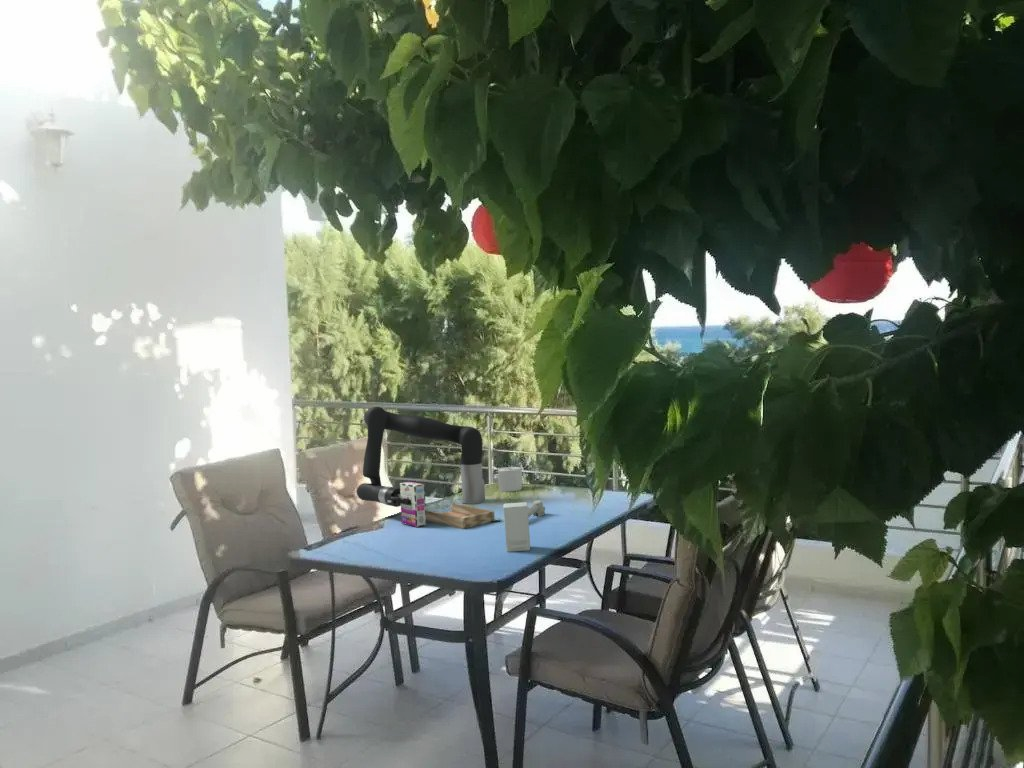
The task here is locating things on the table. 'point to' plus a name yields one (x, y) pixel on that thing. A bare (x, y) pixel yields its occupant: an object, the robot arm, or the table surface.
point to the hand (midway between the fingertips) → (416, 501)
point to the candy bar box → (413, 504)
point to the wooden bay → (461, 516)
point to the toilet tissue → (510, 479)
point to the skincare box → (516, 527)
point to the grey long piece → (536, 509)
